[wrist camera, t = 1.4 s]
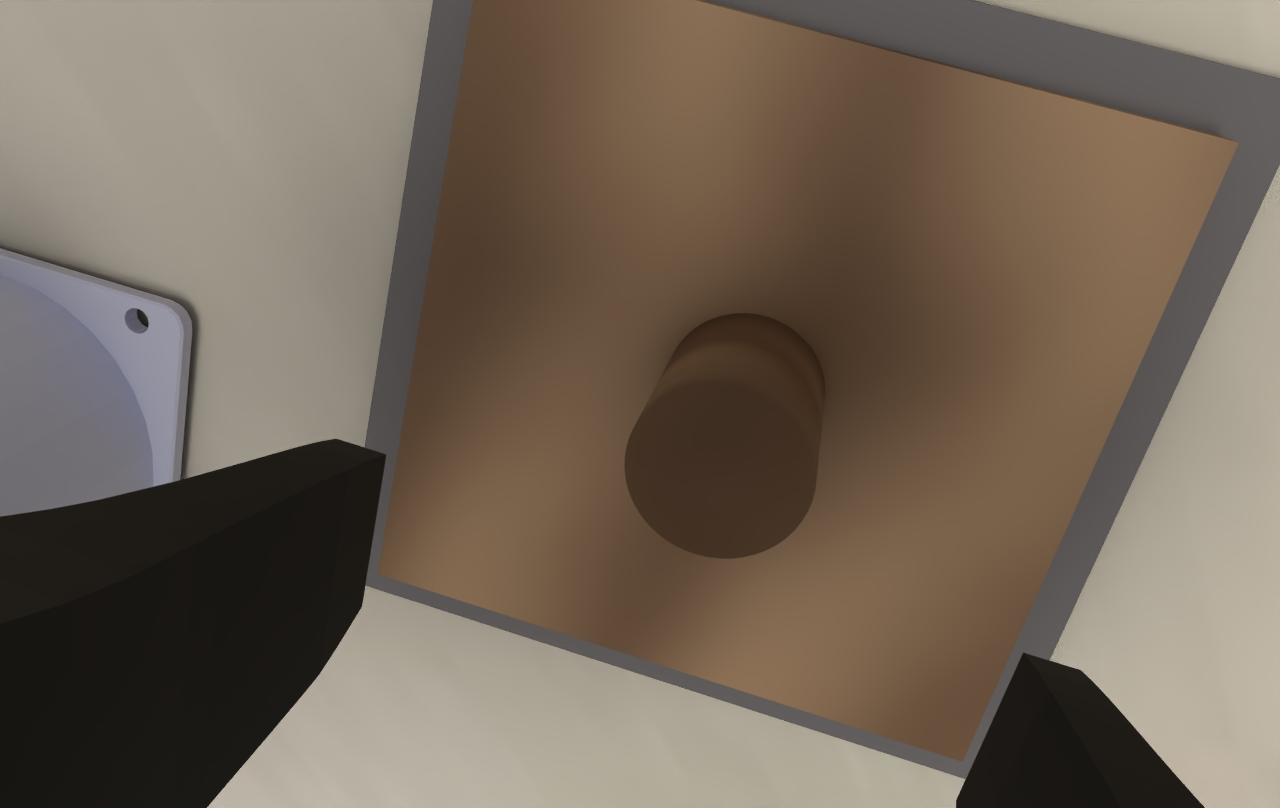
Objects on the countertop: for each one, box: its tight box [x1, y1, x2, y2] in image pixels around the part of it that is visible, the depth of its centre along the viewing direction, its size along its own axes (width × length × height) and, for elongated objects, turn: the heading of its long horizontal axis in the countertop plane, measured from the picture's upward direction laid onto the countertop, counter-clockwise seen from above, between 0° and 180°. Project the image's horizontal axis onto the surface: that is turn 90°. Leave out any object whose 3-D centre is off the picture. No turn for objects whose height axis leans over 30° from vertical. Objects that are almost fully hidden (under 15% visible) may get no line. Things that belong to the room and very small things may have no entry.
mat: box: [365, 0, 1280, 779], centre depth 20 cm, size 14×14×1 cm
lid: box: [378, 0, 1239, 762], centre depth 18 cm, size 12×12×4 cm
